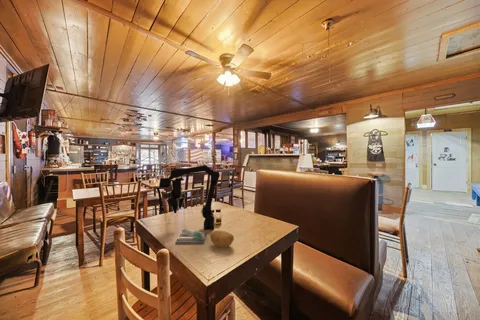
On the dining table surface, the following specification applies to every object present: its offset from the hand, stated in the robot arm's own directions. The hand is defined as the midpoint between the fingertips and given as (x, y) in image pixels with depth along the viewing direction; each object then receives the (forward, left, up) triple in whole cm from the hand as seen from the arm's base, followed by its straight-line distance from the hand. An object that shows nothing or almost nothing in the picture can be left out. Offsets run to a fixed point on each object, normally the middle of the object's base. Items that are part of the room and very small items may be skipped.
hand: (177, 211), depth 122 cm
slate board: (-12, +14, -13) cm, 22 cm away
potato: (-30, +22, -13) cm, 40 cm away
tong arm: (-13, +13, -10) cm, 21 cm away
